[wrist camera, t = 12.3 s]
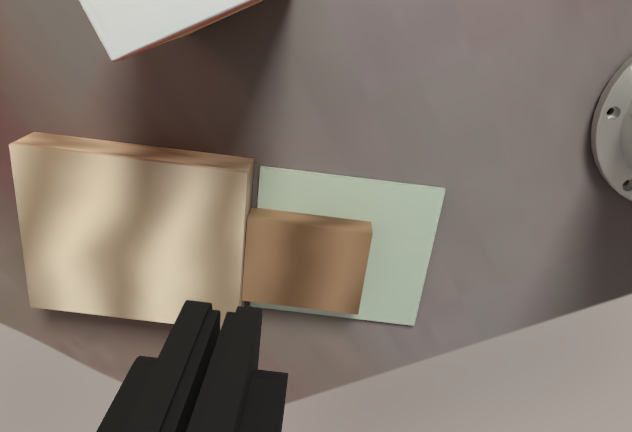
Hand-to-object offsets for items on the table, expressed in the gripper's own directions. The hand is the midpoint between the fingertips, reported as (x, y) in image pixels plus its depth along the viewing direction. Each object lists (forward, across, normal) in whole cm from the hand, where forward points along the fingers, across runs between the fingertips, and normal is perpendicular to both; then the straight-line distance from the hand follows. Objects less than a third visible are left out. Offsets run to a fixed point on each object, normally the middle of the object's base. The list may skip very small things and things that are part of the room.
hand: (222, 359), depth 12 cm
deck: (+27, +11, +11) cm, 31 cm away
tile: (+27, -2, +12) cm, 29 cm away
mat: (+27, -4, +11) cm, 30 cm away
